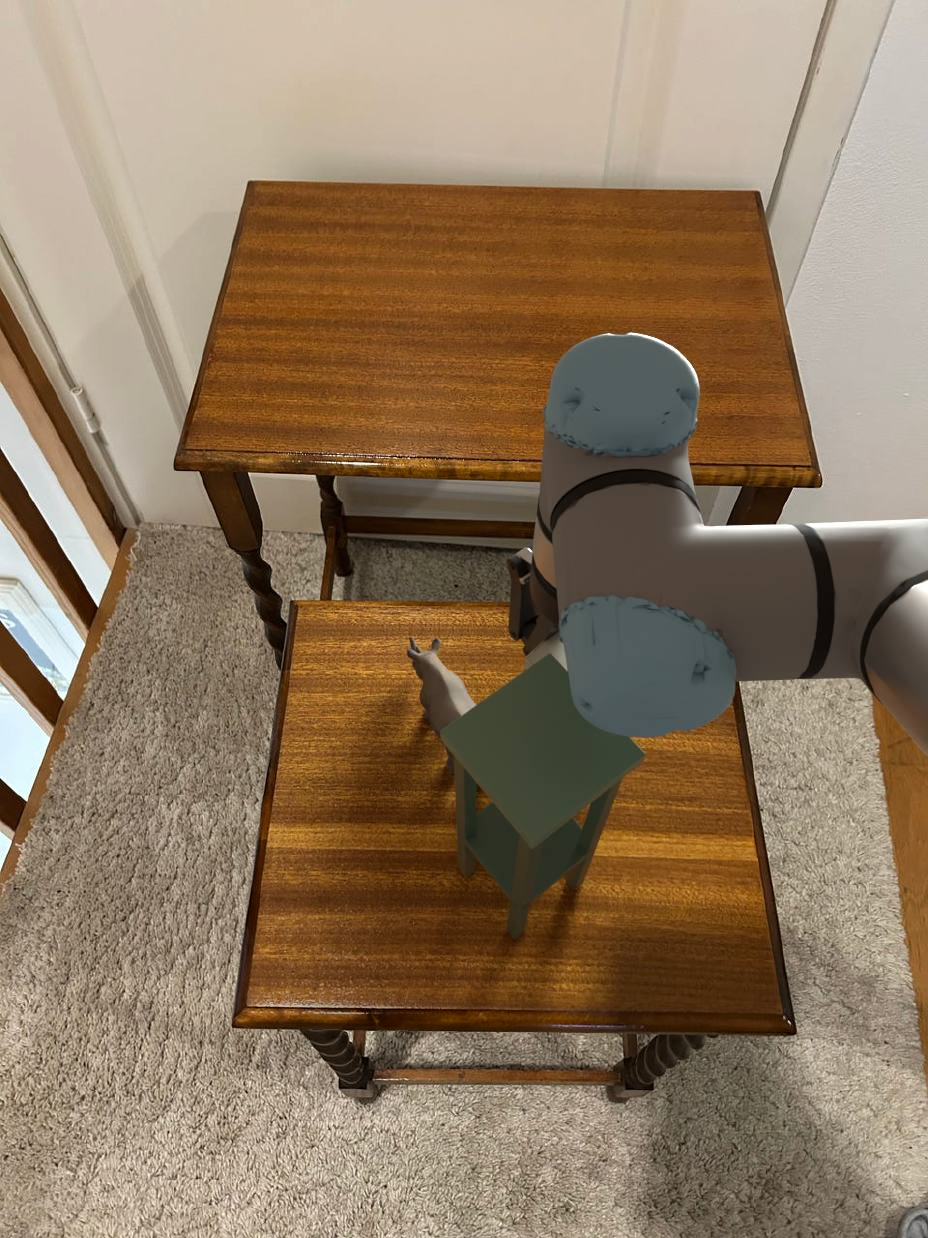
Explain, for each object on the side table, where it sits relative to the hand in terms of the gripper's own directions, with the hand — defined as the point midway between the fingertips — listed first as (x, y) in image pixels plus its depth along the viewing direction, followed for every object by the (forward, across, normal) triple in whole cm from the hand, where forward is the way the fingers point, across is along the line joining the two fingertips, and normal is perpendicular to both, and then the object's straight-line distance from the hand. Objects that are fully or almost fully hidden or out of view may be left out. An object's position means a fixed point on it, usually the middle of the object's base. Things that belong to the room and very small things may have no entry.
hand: (561, 717), depth 78 cm
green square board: (-23, -8, +11) cm, 27 cm away
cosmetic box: (+1, 0, 0) cm, 1 cm away
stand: (+2, -8, +11) cm, 13 cm away
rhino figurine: (+2, +7, +7) cm, 10 cm away
